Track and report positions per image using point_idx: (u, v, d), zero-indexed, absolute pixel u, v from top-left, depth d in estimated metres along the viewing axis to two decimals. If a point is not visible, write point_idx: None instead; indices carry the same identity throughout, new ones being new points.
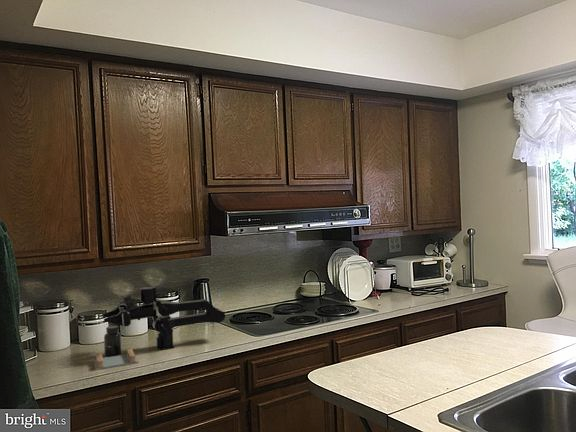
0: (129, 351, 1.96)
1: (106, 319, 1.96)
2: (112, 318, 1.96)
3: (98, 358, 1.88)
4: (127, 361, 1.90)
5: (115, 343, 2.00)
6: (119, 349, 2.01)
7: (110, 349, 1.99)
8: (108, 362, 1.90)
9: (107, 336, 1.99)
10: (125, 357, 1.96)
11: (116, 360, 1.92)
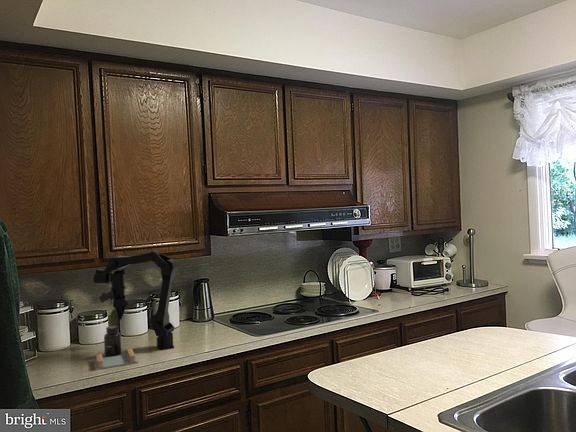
0: (129, 351, 1.96)
1: (119, 317, 2.11)
2: (118, 312, 2.10)
3: (98, 358, 1.88)
4: (127, 361, 1.90)
5: (115, 343, 2.00)
6: (119, 349, 2.01)
7: (110, 349, 1.99)
8: (108, 362, 1.90)
9: (107, 336, 1.99)
10: (125, 357, 1.96)
11: (116, 360, 1.92)
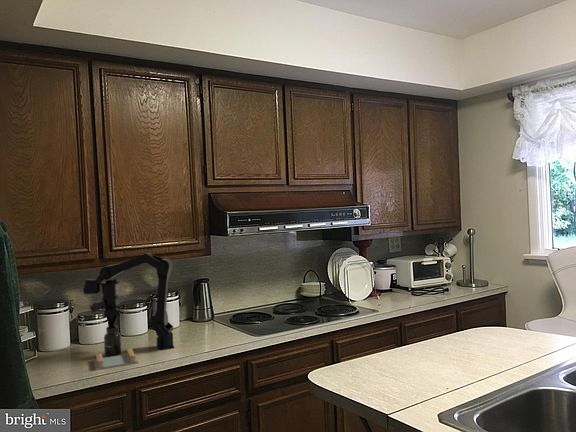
0: (129, 351, 1.96)
1: None
2: (109, 322, 2.09)
3: (98, 358, 1.88)
4: (127, 361, 1.90)
5: (115, 343, 2.00)
6: (119, 349, 2.01)
7: (110, 349, 1.99)
8: (108, 362, 1.90)
9: (107, 336, 1.99)
10: (125, 357, 1.96)
11: (116, 360, 1.92)
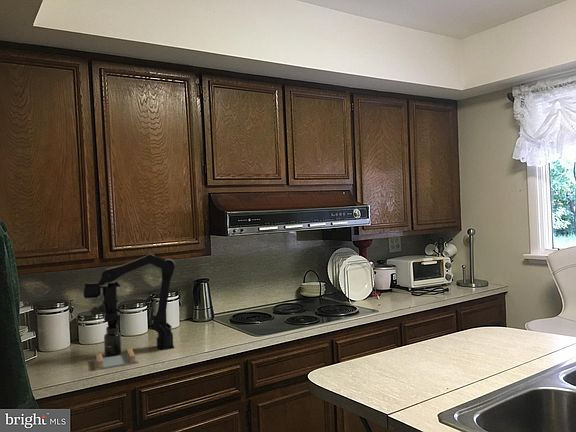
0: (129, 351, 1.96)
1: None
2: None
3: (98, 358, 1.88)
4: (127, 361, 1.90)
5: (115, 343, 1.99)
6: (119, 349, 2.01)
7: (110, 349, 1.99)
8: (108, 362, 1.90)
9: (107, 336, 1.99)
10: (125, 357, 1.96)
11: (116, 360, 1.92)
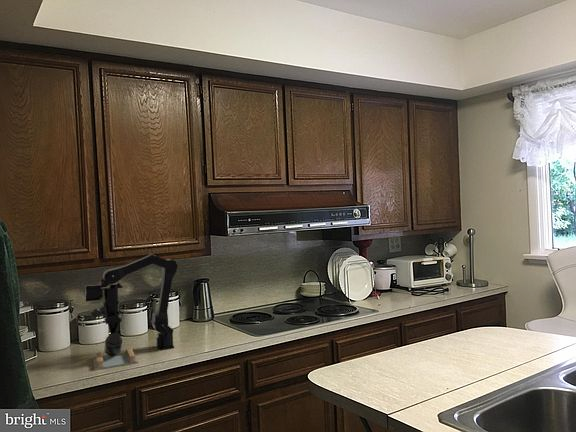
0: (129, 351, 1.96)
1: None
2: (111, 328, 1.99)
3: (98, 358, 1.88)
4: (127, 361, 1.90)
5: (116, 351, 1.96)
6: (120, 350, 1.99)
7: (111, 353, 1.96)
8: (108, 362, 1.90)
9: (108, 346, 1.93)
10: (125, 357, 1.96)
11: (116, 360, 1.92)
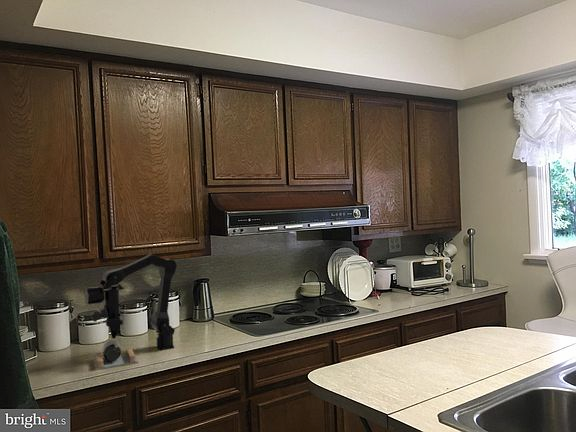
0: (129, 351, 1.96)
1: (113, 336, 1.96)
2: (112, 331, 1.95)
3: (98, 358, 1.88)
4: (127, 361, 1.90)
5: None
6: None
7: None
8: (108, 362, 1.90)
9: (109, 360, 1.91)
10: (125, 357, 1.96)
11: (116, 360, 1.92)
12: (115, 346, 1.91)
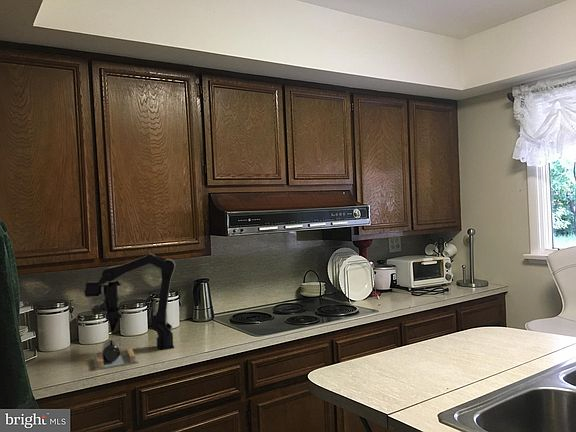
0: (129, 351, 1.96)
1: (112, 329, 2.07)
2: (111, 324, 2.06)
3: (98, 358, 1.88)
4: (127, 361, 1.90)
5: None
6: None
7: None
8: (108, 362, 1.90)
9: None
10: (125, 357, 1.96)
11: (116, 360, 1.92)
12: (113, 346, 1.91)
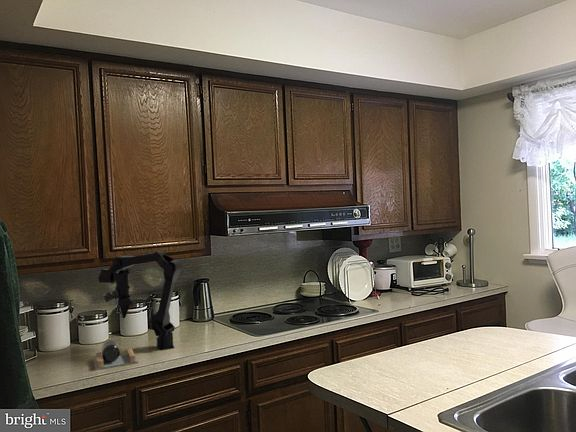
0: (129, 351, 1.96)
1: (123, 316, 2.14)
2: (123, 311, 2.13)
3: (98, 358, 1.88)
4: (127, 361, 1.90)
5: None
6: None
7: None
8: (108, 362, 1.90)
9: None
10: (125, 357, 1.96)
11: (116, 360, 1.92)
12: (113, 346, 1.91)
